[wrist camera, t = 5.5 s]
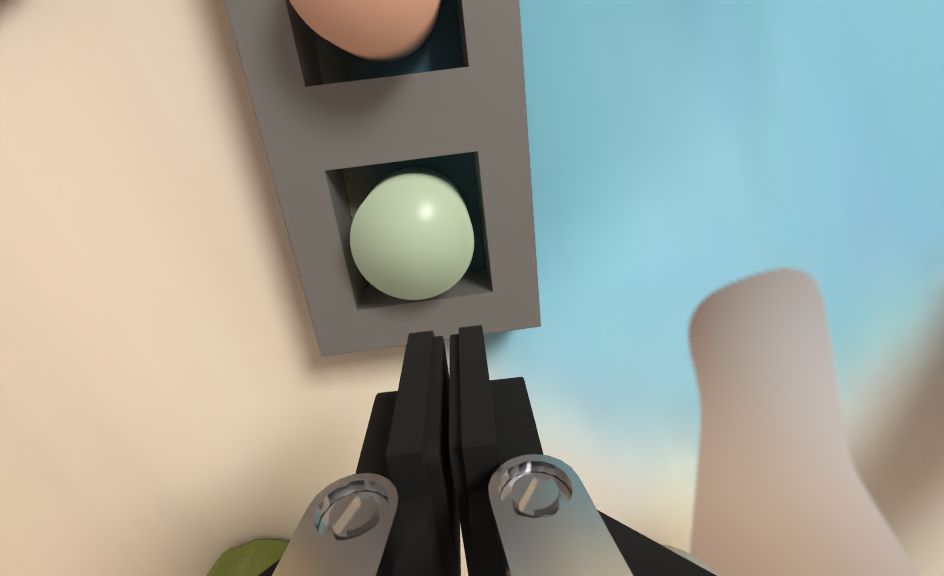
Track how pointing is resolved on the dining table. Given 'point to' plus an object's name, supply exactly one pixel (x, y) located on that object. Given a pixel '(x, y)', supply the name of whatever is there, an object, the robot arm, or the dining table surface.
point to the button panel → (390, 140)
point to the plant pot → (249, 558)
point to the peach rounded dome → (372, 25)
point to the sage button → (412, 234)
